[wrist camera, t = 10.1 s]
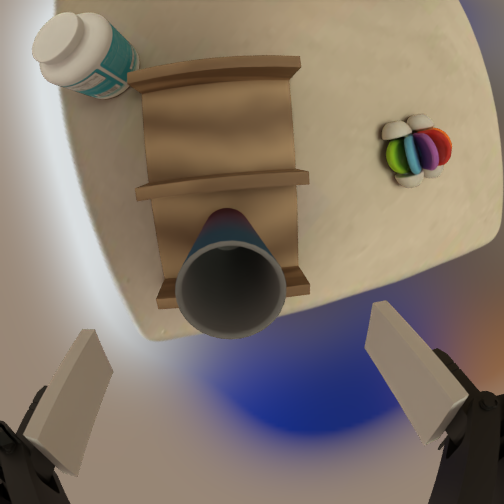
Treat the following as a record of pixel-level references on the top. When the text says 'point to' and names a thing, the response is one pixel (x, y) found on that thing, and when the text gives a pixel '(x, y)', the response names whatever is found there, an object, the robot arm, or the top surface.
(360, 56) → the top surface
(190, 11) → the top surface
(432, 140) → the rainbow disc stack
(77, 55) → the pill bottle
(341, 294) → the top surface
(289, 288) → the rack
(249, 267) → the cup
